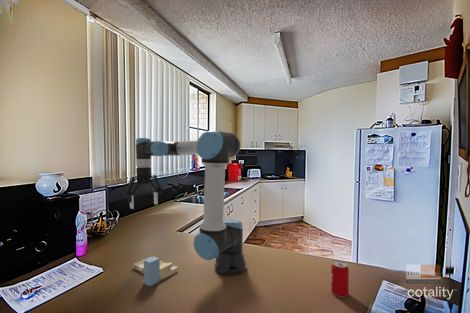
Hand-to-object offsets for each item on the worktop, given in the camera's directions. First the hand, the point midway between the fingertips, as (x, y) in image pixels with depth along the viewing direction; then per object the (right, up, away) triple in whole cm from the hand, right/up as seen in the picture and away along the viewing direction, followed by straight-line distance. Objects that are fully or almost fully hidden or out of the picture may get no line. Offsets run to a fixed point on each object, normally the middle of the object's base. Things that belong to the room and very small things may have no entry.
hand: (144, 206), depth 132 cm
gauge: (+16, -27, -24) cm, 39 cm away
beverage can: (+90, -28, -35) cm, 101 cm away
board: (+11, -27, -16) cm, 33 cm away
